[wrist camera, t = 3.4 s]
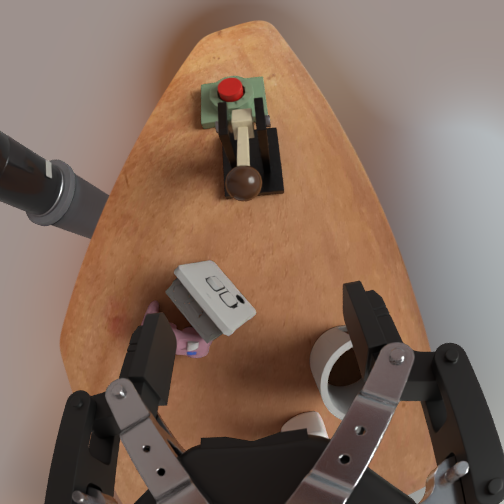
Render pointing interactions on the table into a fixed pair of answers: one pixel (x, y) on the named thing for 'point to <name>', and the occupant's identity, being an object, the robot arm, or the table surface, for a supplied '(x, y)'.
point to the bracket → (253, 148)
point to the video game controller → (184, 337)
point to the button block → (212, 97)
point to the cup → (321, 365)
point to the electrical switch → (209, 300)
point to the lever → (243, 159)
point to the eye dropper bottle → (307, 424)
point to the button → (230, 89)
